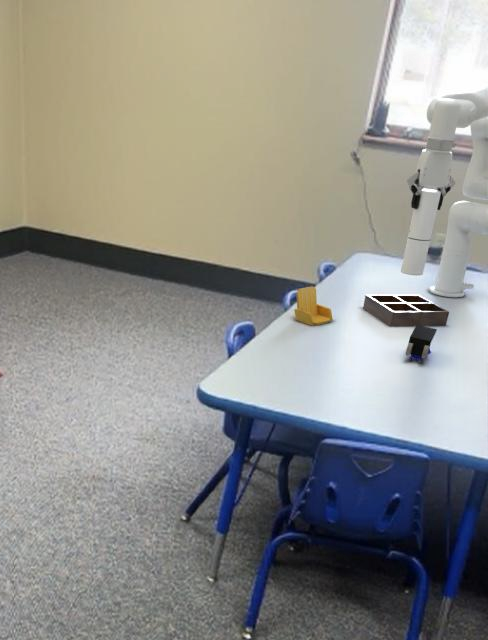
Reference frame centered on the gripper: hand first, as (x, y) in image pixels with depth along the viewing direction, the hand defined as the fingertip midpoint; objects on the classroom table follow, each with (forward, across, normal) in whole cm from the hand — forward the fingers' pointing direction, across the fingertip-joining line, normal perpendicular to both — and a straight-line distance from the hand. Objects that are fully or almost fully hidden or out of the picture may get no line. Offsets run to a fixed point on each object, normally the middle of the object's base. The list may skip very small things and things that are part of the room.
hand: (425, 208), depth 253 cm
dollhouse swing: (+33, +36, +7) cm, 49 cm away
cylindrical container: (+20, 0, 0) cm, 20 cm away
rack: (+33, +2, +4) cm, 33 cm away
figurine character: (+33, +18, +43) cm, 57 cm away
